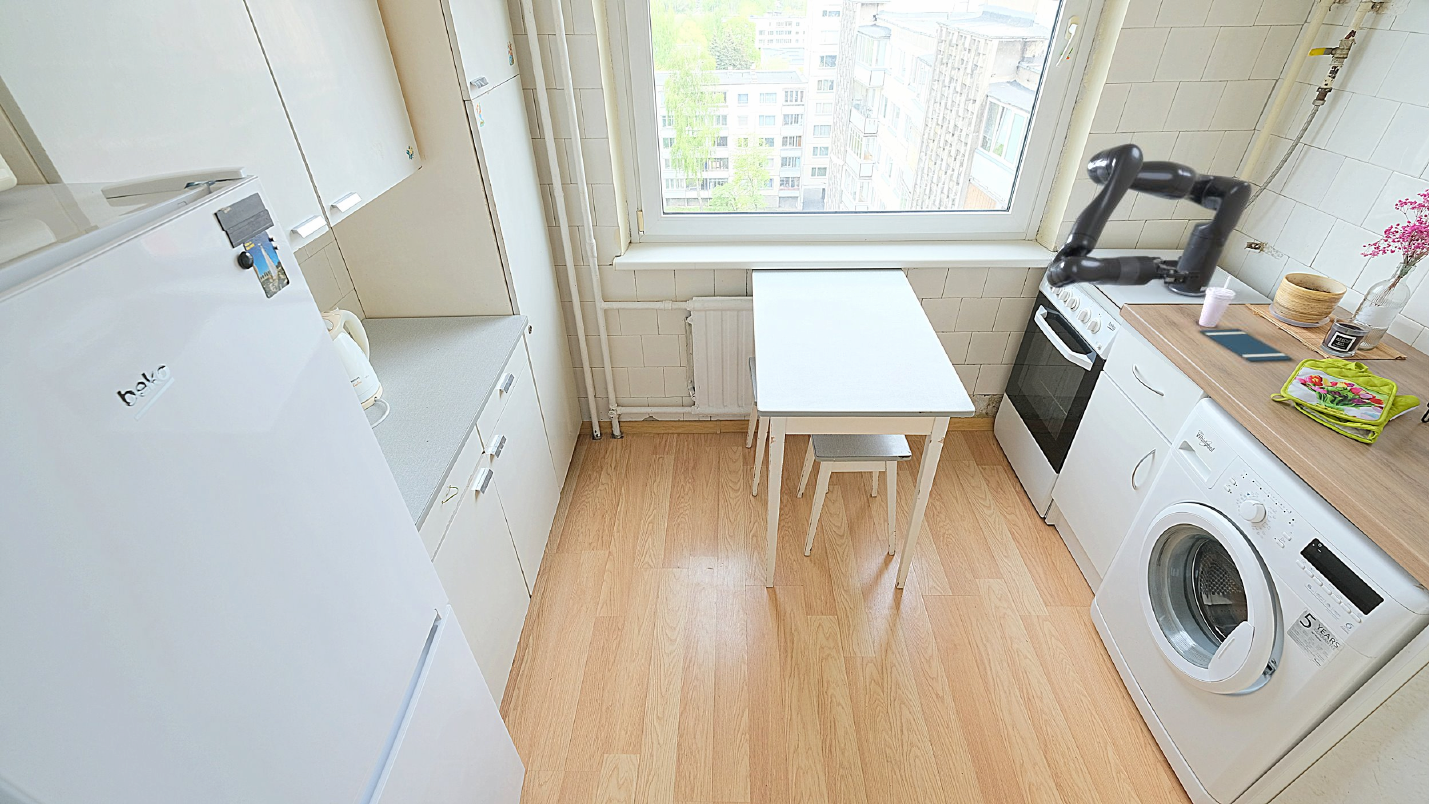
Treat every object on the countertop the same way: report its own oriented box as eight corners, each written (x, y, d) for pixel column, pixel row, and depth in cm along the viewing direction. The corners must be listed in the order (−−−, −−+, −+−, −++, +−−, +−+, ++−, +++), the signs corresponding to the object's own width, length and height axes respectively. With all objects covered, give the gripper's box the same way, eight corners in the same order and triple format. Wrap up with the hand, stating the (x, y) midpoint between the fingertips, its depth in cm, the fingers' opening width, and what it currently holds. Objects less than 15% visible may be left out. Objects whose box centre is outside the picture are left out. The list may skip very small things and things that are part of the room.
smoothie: (1225, 330, 170) (1248, 280, 163) (1198, 328, 171) (1220, 279, 164) (1214, 320, 176) (1235, 272, 168) (1188, 318, 177) (1209, 270, 169)
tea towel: (1200, 331, 170) (1201, 330, 169) (1237, 330, 170) (1238, 329, 170) (1250, 361, 155) (1251, 360, 155) (1291, 359, 156) (1292, 358, 155)
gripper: (1151, 266, 157) (1213, 265, 157) (1116, 248, 169) (1174, 247, 170) (1140, 294, 160) (1201, 293, 161) (1107, 275, 173) (1164, 274, 174)
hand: (1187, 269), depth 165 cm, fingers open, 8 cm apart
